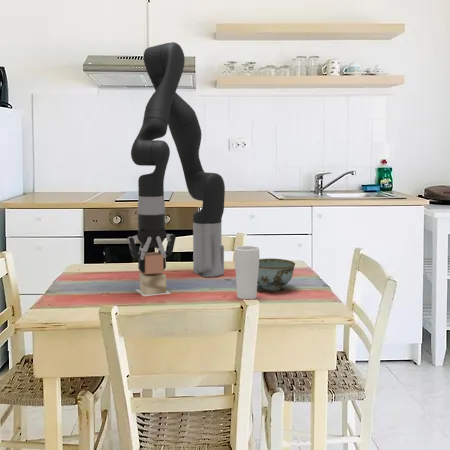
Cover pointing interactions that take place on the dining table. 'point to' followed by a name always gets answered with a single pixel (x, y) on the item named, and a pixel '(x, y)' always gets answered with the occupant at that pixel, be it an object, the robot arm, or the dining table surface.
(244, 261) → the drinking glass
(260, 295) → the dining table surface
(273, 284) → the bowl
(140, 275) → the beech block
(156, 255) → the rust block
